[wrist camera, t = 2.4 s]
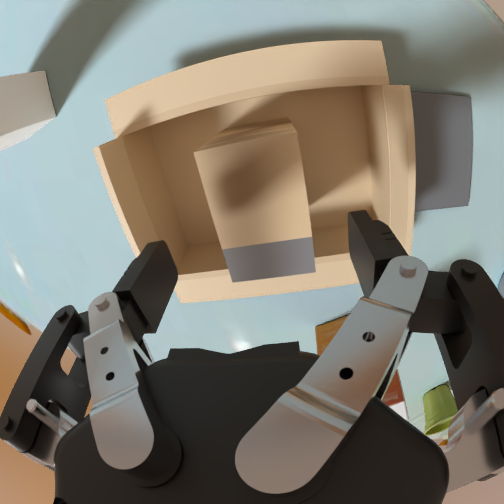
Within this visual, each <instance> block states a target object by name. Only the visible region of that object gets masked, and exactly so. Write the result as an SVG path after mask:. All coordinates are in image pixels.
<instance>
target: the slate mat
mask: <svg viewBox="0 0 504 504" xmlns="http://www.w3.org/2000/svg"><path fill="white" fill-rule="evenodd" d="M411 99H412V108H413V118H414V132H415V155H416V188H415V211H424V210H433V209H442V208H451V207H460V206H468V202H469V193H470V182H471V168H472V114H471V100H470V97H465V96H458V95H449V94H439V93H427V92H411ZM415 211H414V212H415Z"/></svg>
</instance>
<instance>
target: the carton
mask: <svg viewBox="0 0 504 504" xmlns="http://www.w3.org/2000/svg"><path fill="white" fill-rule="evenodd" d="M105 102H106V106H107V110H108V113H109V117H110V120H111V124H112V127H113V131H114V134H115V137H116V139H114V140H112V141H109V142H107V143H105V144H102V145H100V146H98V147H95V148H93V150H94V153H95V156H96V159H97V162H98V165H99V168H100V171H101V174H102V177H103V179H104V182H105V185H106V187H107V190H108V193H109V195H110V198H111V200H112V203H113V206H114V208H115V210H116V213H117V215H118V218H119V220H120V223H121V225H122V227H123V230H124V232H125V234H126V236H127V239H128V241H129V243H130V245H131V248H132V250H133V252H134V254H135V256H136V258H137V257H138V256H139V255H140V253H141V252H142V250H143V249H144V247H145V246H146V245H147V243H149V242H155V241H160V240H164V241H165V242H166V243H167V245H168V248H169V250H170V253H171V255H172V258H173V260H174V262H175V265H176V267H177V270H178V281H177V283H176V286H175V288H174V289H175V292H176V294H177V296H178V298H179V300H180V302H181V303H190V302H203V301H214V300H225V299H235V298H245V297H255V296H264V295H273V294H281V293H290V292H298V291H306V290H313V289H321V288H328V287H335V286H342V285H349V284H355V283H360V282H359V280H358V277H357V274H356V271H355V269H354V266H353V263H352V261H351V258H350V253H349V244H348V212H351V211H359V210H366V211H367V212H368V214H369V215H370V217H371V218H372V220H380V221H382V222H384V223H385V224H387V225H388V226H389V227H390V229H391V230H392V232H393V233H394V234H395V236H396V237H397V239H398V240H399V242H400V243H401V245H402V246H403V248H404V249H405V251H406V252H407V254H408V255H409V256H410V255H411V246H412V236H413V225H414V211H415V188H416V155H415V132H414V118H413V108H412V99H411V91H410V85H390V83H389V77H388V71H387V65H386V60H385V55H384V50H383V46H382V41H373V40H337V41H318V42H306V43H296V44H288V45H280V46H273V47H267V48H261V49H256V50H251V51H246V52H241V53H236V54H232V55H228V56H223V57H219V58H216V59H212V60H208V61H205V62H201V63H198V64H194V65H191V66H188V67H185V68H182V69H179V70H176V71H173V72H170V73H167V74H165V75H162V76H159V77H156V78H154V79H151V80H149V81H146V82H144V83H141V84H139V85H137V86H134V87H132V88H130V89H128V90H125V91H123V92H121V93H119V94H117V95H115V96H113V97H110V98H108V99H106V100H105ZM285 117H288V118H289V120H290V121H291V123H292V125H293V126H294V128H295V130H296V131H297V135H298V141H299V147H300V153H301V159H302V165H303V172H304V178H305V185H306V192H307V199H308V207H309V215H310V223H311V231H312V240H313V249H314V259H315V269H316V272H314V273H307V274H299V275H292V276H284V277H276V278H268V279H260V280H251V281H243V282H234V283H233V282H232V279H231V276H230V273H229V270H228V267H227V264H226V260H225V257H224V254H223V251H222V248H221V244H220V241H219V238H218V235H217V231H216V228H215V225H214V221H213V218H212V215H211V211H210V208H209V205H208V201H207V198H206V194H205V191H204V188H203V184H202V181H201V177H200V174H199V170H198V167H197V163H196V160H195V156H194V153H193V152H195V151H196V150H197V149H199V148H200V147H201V146H202V145H204V144H205V143H206V142H208V141H209V140H210V139H212V138H213V137H214V136H216V135H217V134H218V133H220V132H221V131H223V130H224V129H227V128H231V127H236V126H240V125H245V124H250V123H256V122H261V121H267V120H272V119H279V118H285Z"/></svg>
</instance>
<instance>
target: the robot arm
mask: <svg viewBox="0 0 504 504" xmlns="http://www.w3.org/2000/svg"><path fill="white" fill-rule="evenodd" d="M348 244H349V253H350V258H351V261H352V263H353V266H354V269H355V271H356V274H357V277H358V280H359V282H360V285H361V288H362V291H363V294H364V296H365V297H364V296H363V297H361V298H360V299H359V301H358V302H357V304H356V305H355V307H354V308H353V310H352V311H351V313H350V314H349V316H348V317H347V319H346V320H345V322H344V323H343V325H342V326H341V328H340V329H339V331H338V332H337V334H336V335H335V336H334V338H333V339H332V341H331V342H330V343H329V345H328V346H327V347H326V349H325V350H324V352H323V353H322V354H321V356H320V355H317V354H313V353H309V352H302V351H300V348H299V341H297V342H288V343H278V344H267V345H262V346H258V347H255V348H251V349H247V350H244V351H240V352H236V353H232V354H225V353H220V352H214V351H209V350H204V349H200V348H183V349H170V351H169V354H168V357H167V358H166V359H162V360H159V361H157V362H155V361H154V359H153V357H152V355H151V352H150V350H149V348H148V345H147V343H146V341H145V339H144V338H143V335H144V333H156V331H157V329H158V326H159V324H160V321H161V319H162V316H163V314H164V311H165V309H166V307H167V304H168V302H169V300H170V297H171V295H172V293H173V290H174V288H175V286H176V283H177V281H178V270H177V267H176V265H175V262H174V260H173V258H172V255H171V253H170V250H169V248H168V245H167V243H166V242H165V241H164V240H160V241H155V242H149V243H147V245H146V246H145V247H144V249H143V250H142V252H141V253H140V255H139V256H138V257H137V258H136V259H134V260H133V261H132V263H131V264H130V265H129V267H128V268H127V269H128V270H126V271H125V273H124V276H122V277H121V279H120V280H119V282H118V283H117V285H116V287H115V288H114V290H113V291H112V292H107V293H104V294H101V295H100V296H98V297H97V298H95V299H94V300H93V301H92V302H91V304H90V305H89V308H88V311H86V312H83V313H80V314H78V312H77V311H76V309H75V308H74V307H73V306H72V305H68V306H65V307H63V308H61V309H60V310H58V311H57V312H56V313H55V315H54V316H53V317H52V319H51V320H50V322H49V324H48V325H47V327H46V329H45V330H44V332H43V333H42V335H41V337H40V338H39V340H38V342H37V344H36V345H35V347H34V349H33V351H32V352H31V354H30V356H29V358H28V360H27V362H26V363H25V365H24V367H23V369H22V371H21V373H20V375H19V377H18V379H17V381H16V383H15V385H14V388H13V389H12V391H11V394H10V396H9V398H8V400H7V403H6V405H5V407H4V410H3V412H2V414H1V417H0V438H1V439H3V440H4V441H5V442H6V443H8V444H9V445H11V446H12V447H14V448H15V449H17V450H18V451H19V452H20V453H22V454H23V455H25V456H27V457H28V458H30V459H31V460H33V461H35V462H37V463H38V464H40V465H43V466H45V467H47V468H49V469H51V470H53V471H54V472H55V499H54V503H53V504H442V501H443V499H444V497H445V494H446V493H447V492H450V491H452V490H455V489H457V488H460V487H462V486H465V485H467V484H469V483H472V482H474V481H476V480H477V481H485V480H487V479H490V478H492V477H494V476H496V475H498V474H500V473H502V472H504V274H503V276H502V278H501V280H500V283H499V287H498V289H497V288H496V286H495V285H494V283H493V282H492V280H491V279H490V278H489V276H488V275H487V273H486V272H485V270H484V269H483V268H482V267H481V266H480V265H479V264H477V263H475V262H473V261H470V260H466V259H461V260H457V261H455V262H453V263H452V265H451V267H450V272H436V271H429V270H428V267H427V265H426V264H425V263H424V262H423V261H422V260H420V259H418V258H416V257H413V256H409V255H408V254H407V252H406V251H405V249H404V248H403V246H402V245H401V243H400V242H399V240H398V239H397V237H396V236H395V234H394V233H393V232H392V230H391V229H390V227H389V226H388V225H387V224H385V223H384V222H382V221H380V220H372V218H371V217H370V215H369V214H368V212H367V211H366V210H359V211H351V212H348ZM413 332H419V333H434V335H435V338H436V341H437V344H438V346H439V349H440V352H441V355H442V358H443V361H444V364H445V367H446V370H447V373H448V377H449V380H450V384H451V387H452V391H453V394H454V398H455V402H456V406H457V410H458V412H457V413H456V414H455V416H454V417H453V418H452V420H451V422H450V425H449V429H448V444H447V447H446V449H445V451H444V452H443V451H442V449H441V448H440V447H439V446H438V445H437V444H436V443H435V442H434V441H433V440H431V439H430V438H429V437H427V436H426V435H425V434H423V433H422V432H421V431H420V430H418V429H417V428H416V427H414V426H413V425H412V424H410V423H409V422H408V421H407V420H405V419H404V418H403V417H402V416H400V415H399V414H398V413H396V412H395V411H394V410H393V409H391V408H390V407H389V406H388V405H386V404H385V403H384V402H383V401H382V399H383V397H384V395H385V393H386V391H387V389H388V387H389V385H390V383H391V381H392V379H393V376H394V374H395V372H396V370H397V368H398V365H399V363H400V361H401V359H402V357H403V354H404V352H405V350H406V348H407V345H408V343H409V341H410V338H411V336H412V333H413ZM67 346H68V347H69V348H70V349H71V350H72V351H73V352H74V354H75V355H76V356H77V358H76V360H75V362H74V364H73V366H72V368H71V371H70V373H69V375H67V374H66V373H65V372H64V371H63V370H62V368H61V365H60V360H61V357H62V356H63V354H64V351H65V350H66V348H67ZM91 396H92V401H93V409H91V411H90V414H88V415H87V416H86V417H85V418H84V416H85V413H86V410H87V407H88V404H89V401H90V399H91Z"/></svg>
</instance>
